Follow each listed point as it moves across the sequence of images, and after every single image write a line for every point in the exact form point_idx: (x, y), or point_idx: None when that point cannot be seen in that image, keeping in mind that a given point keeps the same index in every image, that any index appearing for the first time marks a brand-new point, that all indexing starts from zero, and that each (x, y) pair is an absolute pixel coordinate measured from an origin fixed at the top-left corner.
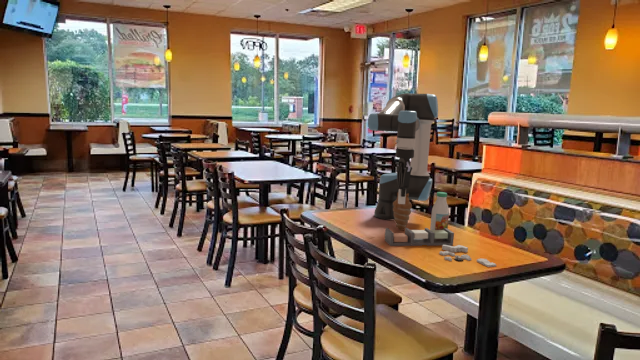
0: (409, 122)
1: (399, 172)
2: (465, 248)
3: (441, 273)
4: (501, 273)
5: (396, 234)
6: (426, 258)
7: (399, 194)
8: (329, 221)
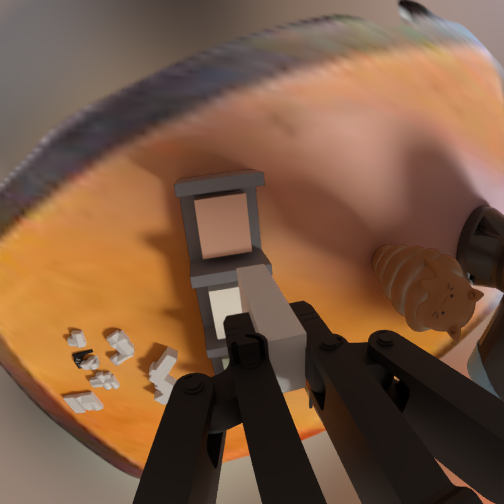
0: None
1: (443, 484)
2: (155, 398)
3: None
4: (40, 400)
5: (227, 215)
6: (66, 281)
7: (253, 306)
8: (442, 53)
